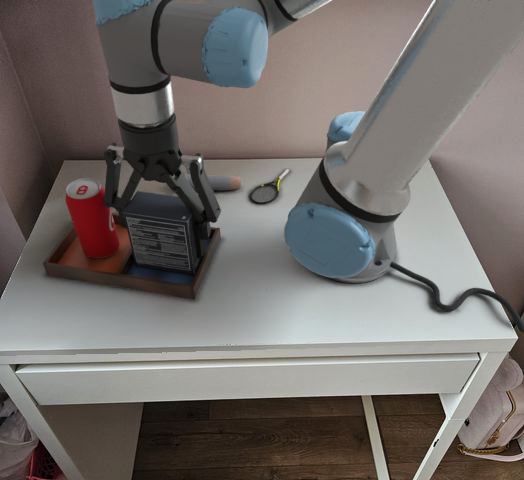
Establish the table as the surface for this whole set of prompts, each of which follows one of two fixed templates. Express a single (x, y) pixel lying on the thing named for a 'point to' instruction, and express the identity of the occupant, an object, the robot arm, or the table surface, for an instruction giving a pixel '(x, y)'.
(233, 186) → the grey two-tone cylinder
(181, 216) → the small box
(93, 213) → the beverage can
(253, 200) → the tennis racket
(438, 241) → the table surface
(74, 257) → the sorting tray
